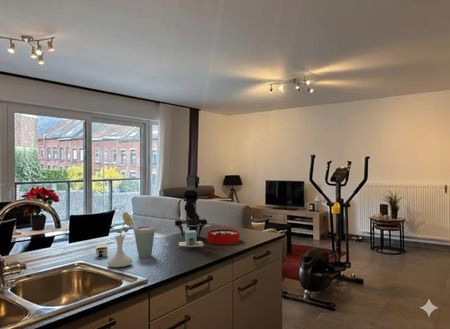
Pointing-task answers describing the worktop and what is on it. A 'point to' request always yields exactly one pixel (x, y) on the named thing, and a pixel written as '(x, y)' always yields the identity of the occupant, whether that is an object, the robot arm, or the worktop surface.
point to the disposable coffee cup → (144, 240)
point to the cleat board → (191, 244)
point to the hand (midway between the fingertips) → (190, 236)
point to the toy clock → (223, 236)
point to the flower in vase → (120, 257)
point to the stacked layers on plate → (102, 249)
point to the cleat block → (191, 236)
